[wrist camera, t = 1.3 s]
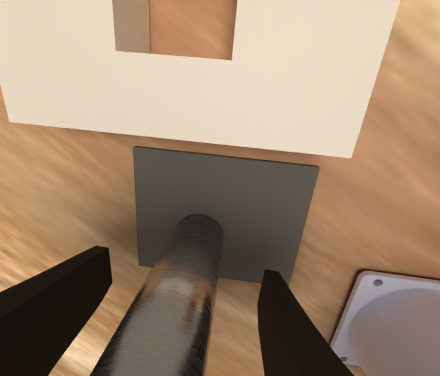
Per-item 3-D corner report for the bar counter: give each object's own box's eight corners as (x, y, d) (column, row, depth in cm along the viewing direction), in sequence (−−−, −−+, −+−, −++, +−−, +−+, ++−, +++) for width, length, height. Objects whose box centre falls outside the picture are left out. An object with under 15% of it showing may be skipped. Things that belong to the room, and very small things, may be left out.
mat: (317, 165, 11) (319, 167, 11) (286, 282, 14) (288, 287, 13) (136, 146, 12) (132, 147, 11) (141, 261, 14) (139, 265, 14)
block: (394, -137, 7) (493, -298, 4) (321, 147, 11) (351, 158, 8) (25, -145, 8) (-90, -285, 5) (66, 120, 11) (9, 121, 9)
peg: (226, 216, 12) (192, 455, 4) (221, 258, 13) (185, 521, 5) (176, 210, 12) (30, 423, 4) (175, 252, 13) (59, 494, 5)
